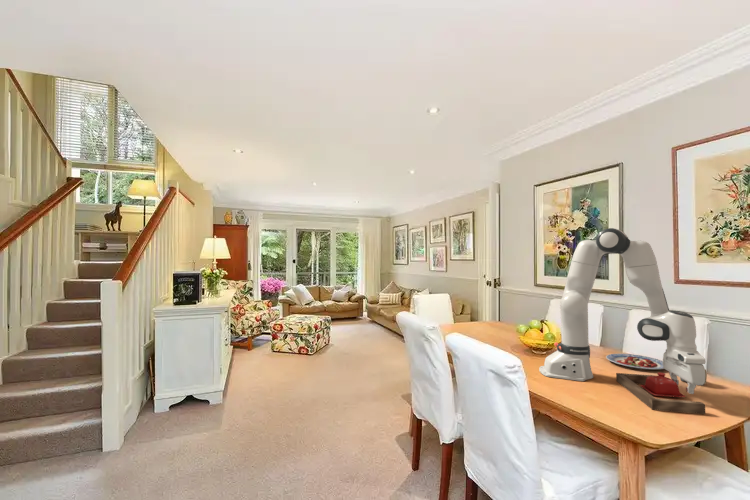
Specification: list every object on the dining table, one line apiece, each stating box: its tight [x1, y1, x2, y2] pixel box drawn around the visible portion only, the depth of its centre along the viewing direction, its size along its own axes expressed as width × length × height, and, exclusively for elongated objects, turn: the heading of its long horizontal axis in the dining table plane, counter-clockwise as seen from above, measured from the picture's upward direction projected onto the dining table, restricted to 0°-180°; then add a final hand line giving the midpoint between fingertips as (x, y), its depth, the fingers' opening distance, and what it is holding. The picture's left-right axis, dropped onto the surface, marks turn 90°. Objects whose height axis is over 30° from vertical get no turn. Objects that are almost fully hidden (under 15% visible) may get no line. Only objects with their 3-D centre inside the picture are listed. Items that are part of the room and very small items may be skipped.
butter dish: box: [639, 371, 686, 398], centre depth 140 cm, size 12×12×8 cm
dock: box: [615, 372, 706, 415], centre depth 137 cm, size 16×30×4 cm, turn 166°
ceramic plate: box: [605, 353, 665, 371], centre depth 177 cm, size 26×26×3 cm
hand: (682, 388), depth 135 cm, fingers open, 8 cm apart
